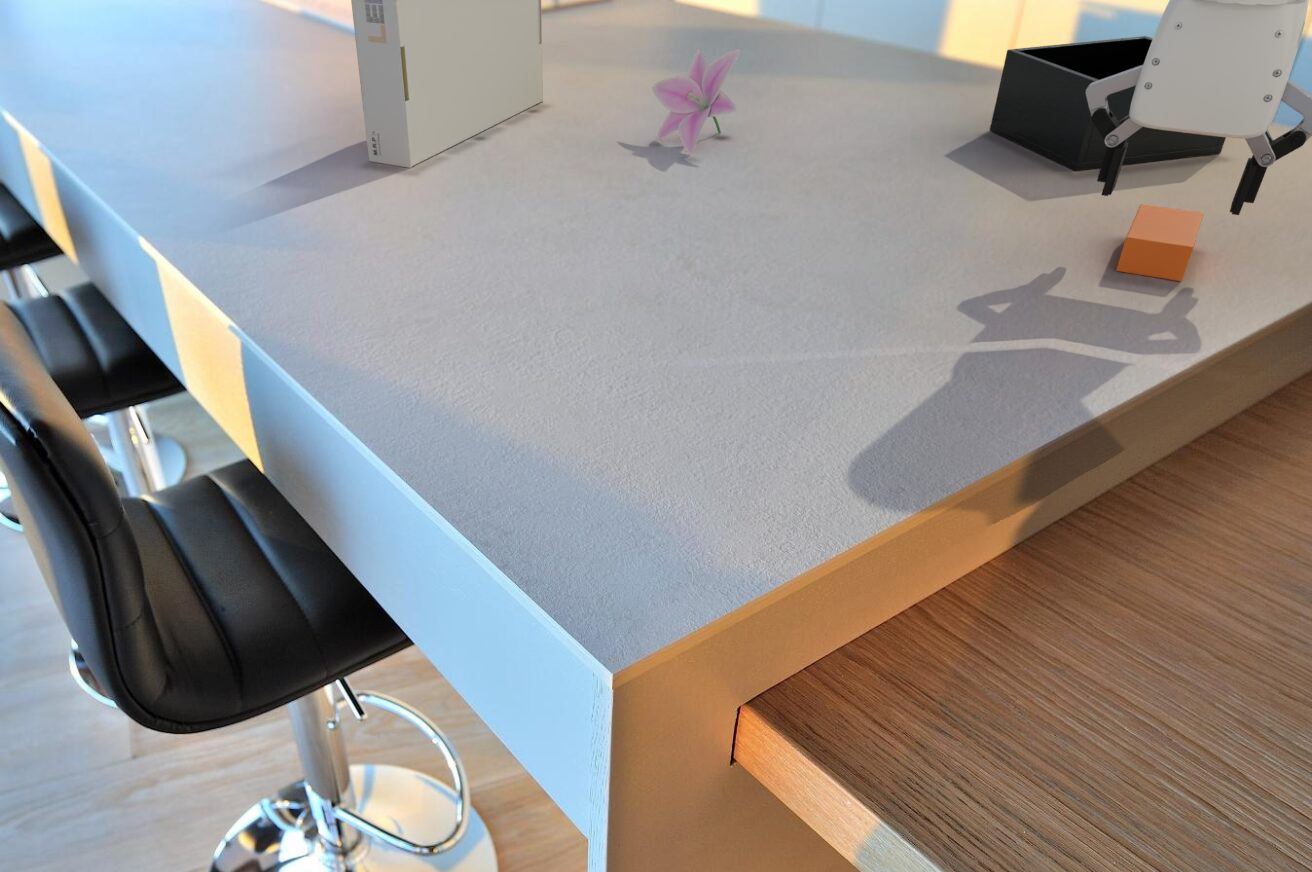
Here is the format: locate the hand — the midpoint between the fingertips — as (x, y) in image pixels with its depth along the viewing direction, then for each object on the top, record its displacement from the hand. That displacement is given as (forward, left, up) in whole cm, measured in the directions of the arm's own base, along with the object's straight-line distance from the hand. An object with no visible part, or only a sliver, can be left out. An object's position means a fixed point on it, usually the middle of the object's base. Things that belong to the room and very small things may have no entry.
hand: (1170, 200), depth 91 cm
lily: (+25, -46, -5) cm, 52 cm away
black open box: (-17, -30, -5) cm, 35 cm away
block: (0, 0, -5) cm, 5 cm away
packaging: (+50, -60, -5) cm, 78 cm away
